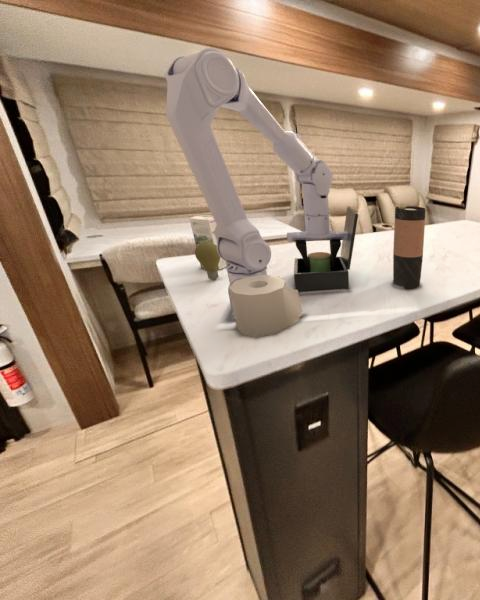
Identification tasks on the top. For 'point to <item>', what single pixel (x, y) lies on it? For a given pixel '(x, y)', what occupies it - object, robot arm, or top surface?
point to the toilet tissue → (264, 305)
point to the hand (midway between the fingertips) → (320, 268)
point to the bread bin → (320, 277)
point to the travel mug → (408, 246)
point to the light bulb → (208, 258)
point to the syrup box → (205, 233)
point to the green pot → (319, 262)
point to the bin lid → (349, 236)
